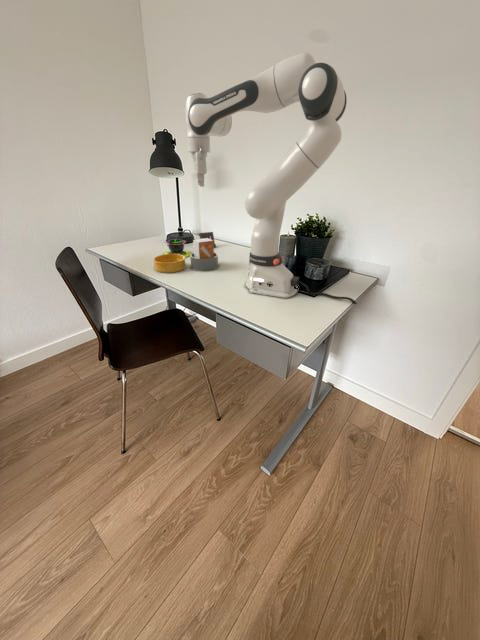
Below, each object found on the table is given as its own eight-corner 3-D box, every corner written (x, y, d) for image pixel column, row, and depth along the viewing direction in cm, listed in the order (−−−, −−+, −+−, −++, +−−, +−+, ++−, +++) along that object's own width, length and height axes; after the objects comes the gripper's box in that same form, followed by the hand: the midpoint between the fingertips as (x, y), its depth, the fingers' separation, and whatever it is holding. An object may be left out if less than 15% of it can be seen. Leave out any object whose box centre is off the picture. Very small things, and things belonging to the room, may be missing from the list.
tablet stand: (202, 248, 163) (201, 234, 159) (198, 245, 169) (197, 232, 165) (215, 247, 166) (215, 233, 162) (212, 244, 172) (211, 231, 168)
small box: (200, 269, 131) (198, 242, 124) (194, 265, 135) (192, 239, 129) (214, 266, 135) (213, 240, 128) (208, 262, 139) (207, 237, 133)
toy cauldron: (176, 249, 161) (174, 230, 156) (195, 253, 155) (194, 234, 149) (158, 255, 150) (155, 235, 145) (178, 260, 144) (175, 239, 138)
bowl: (191, 266, 135) (190, 256, 132) (170, 275, 124) (169, 265, 121) (170, 261, 141) (168, 252, 139) (148, 269, 130) (146, 259, 128)
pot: (223, 265, 137) (223, 253, 134) (207, 273, 127) (206, 260, 124) (202, 260, 143) (201, 249, 140) (185, 267, 133) (184, 256, 130)
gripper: (209, 145, 98) (210, 187, 105) (204, 148, 115) (206, 184, 122) (192, 145, 97) (194, 187, 104) (190, 148, 114) (192, 184, 121)
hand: (201, 185), depth 113 cm, fingers open, 8 cm apart
